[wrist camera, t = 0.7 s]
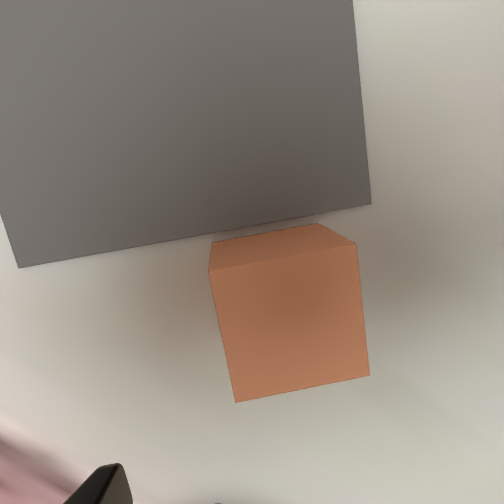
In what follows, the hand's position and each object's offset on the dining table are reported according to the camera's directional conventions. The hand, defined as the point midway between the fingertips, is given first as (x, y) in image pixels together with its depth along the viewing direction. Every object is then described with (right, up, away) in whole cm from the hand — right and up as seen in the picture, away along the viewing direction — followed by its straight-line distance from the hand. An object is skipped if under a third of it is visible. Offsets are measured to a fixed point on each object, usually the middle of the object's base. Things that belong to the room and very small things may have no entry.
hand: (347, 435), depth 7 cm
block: (-1, +2, +10) cm, 10 cm away
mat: (-5, +10, +8) cm, 14 cm away
